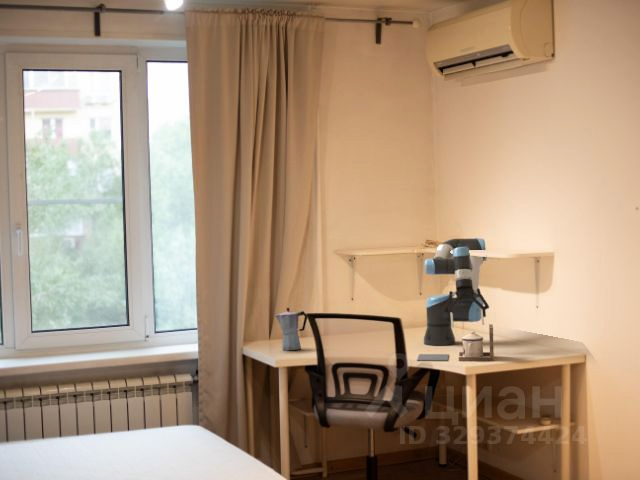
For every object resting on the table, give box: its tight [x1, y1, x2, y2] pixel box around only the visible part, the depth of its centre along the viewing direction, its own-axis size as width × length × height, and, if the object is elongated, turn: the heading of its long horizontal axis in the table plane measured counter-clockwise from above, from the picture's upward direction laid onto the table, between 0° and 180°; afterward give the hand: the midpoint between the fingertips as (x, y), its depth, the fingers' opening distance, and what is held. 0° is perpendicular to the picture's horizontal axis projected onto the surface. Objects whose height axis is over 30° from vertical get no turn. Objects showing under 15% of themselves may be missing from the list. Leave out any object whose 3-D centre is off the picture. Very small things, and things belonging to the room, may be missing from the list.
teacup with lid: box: [461, 330, 484, 357], centre depth 371 cm, size 12×9×12 cm
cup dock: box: [458, 323, 495, 362], centre depth 372 cm, size 13×15×14 cm
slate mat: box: [416, 353, 449, 362], centre depth 375 cm, size 14×13×1 cm
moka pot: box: [274, 307, 308, 352], centre depth 409 cm, size 10×15×20 cm, turn 95°
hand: (467, 325), depth 384 cm, fingers open, 13 cm apart
